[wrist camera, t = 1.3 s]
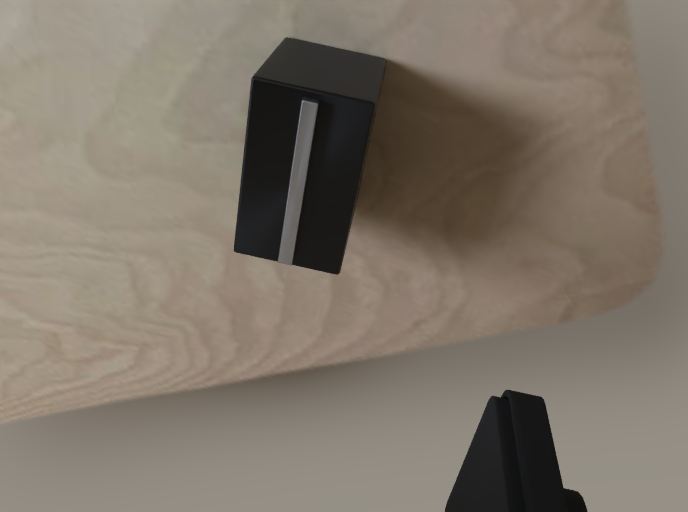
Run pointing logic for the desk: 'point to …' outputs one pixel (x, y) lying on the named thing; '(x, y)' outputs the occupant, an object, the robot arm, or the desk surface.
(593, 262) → the desk surface
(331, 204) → the clip
